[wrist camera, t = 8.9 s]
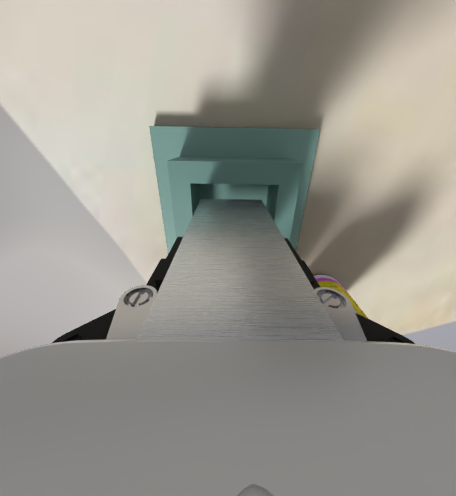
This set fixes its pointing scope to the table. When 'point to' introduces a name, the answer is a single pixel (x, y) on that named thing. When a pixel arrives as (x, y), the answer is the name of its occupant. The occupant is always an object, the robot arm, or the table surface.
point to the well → (233, 172)
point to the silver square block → (236, 282)
